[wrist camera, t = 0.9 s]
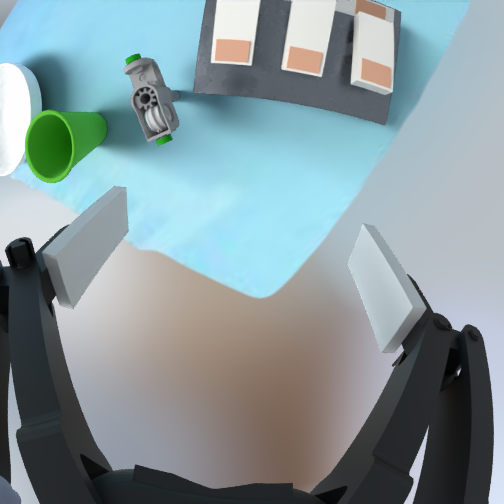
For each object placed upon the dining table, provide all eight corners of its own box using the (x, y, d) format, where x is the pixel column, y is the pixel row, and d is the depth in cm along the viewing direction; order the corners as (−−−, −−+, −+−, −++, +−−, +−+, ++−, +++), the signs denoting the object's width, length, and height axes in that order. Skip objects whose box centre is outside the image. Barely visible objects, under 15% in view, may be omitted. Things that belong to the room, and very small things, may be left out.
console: (217, -13, 21) (209, -31, 16) (384, 19, 22) (405, 9, 17) (202, 93, 30) (190, 93, 24) (369, 120, 31) (389, 127, 25)
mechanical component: (172, 59, 27) (141, 49, 19) (197, 126, 32) (175, 138, 24) (152, 68, 27) (116, 63, 19) (177, 134, 33) (149, 150, 24)
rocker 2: (292, -7, 17) (294, -9, 15) (332, 2, 17) (336, 0, 16) (281, 67, 23) (281, 69, 22) (318, 74, 23) (321, 77, 22)
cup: (125, 149, 34) (83, 173, 24) (79, 164, 34) (35, 190, 25) (113, 91, 29) (65, 97, 20) (66, 111, 30) (18, 126, 20)
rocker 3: (354, 17, 19) (359, 10, 17) (386, 29, 19) (393, 23, 17) (350, 84, 22) (357, 79, 20) (385, 95, 22) (393, 91, 20)
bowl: (71, 128, 31) (46, 137, 26) (13, 181, 35) (-7, 194, 30) (40, 38, 21) (15, 38, 16) (-15, 104, 25) (-36, 111, 20)
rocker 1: (222, -13, 17) (218, -16, 15) (262, -11, 17) (262, -14, 15) (214, 61, 23) (210, 63, 22) (252, 63, 23) (251, 65, 22)
